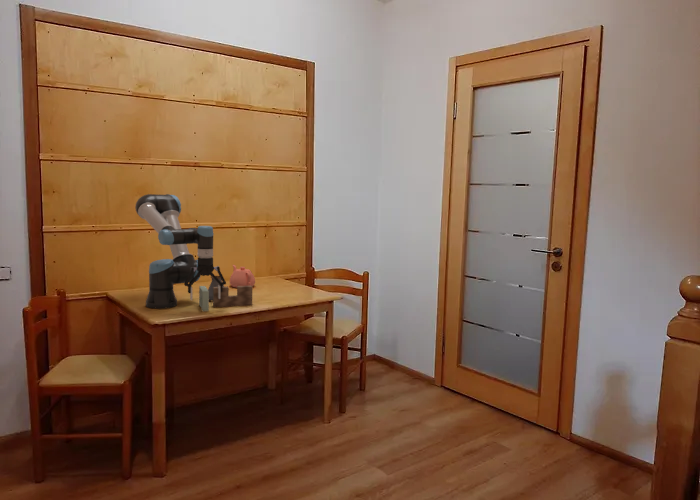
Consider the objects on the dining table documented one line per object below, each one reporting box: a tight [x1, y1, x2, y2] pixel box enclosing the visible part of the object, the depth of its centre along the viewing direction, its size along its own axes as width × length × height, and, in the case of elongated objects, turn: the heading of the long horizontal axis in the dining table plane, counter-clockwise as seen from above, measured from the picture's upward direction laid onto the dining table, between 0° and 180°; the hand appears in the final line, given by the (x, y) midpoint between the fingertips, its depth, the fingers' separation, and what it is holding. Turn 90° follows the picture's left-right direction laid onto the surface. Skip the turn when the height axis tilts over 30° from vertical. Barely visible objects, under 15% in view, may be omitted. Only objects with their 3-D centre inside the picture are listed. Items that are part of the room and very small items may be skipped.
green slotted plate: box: [198, 285, 210, 312], centre depth 270 cm, size 3×14×10 cm, turn 22°
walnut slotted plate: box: [212, 286, 253, 308], centre depth 278 cm, size 20×3×10 cm, turn 112°
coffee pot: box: [207, 274, 225, 302], centre depth 293 cm, size 21×12×15 cm, turn 33°
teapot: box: [229, 264, 256, 289], centre depth 328 cm, size 22×16×12 cm
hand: (205, 299), depth 265 cm, fingers open, 13 cm apart
